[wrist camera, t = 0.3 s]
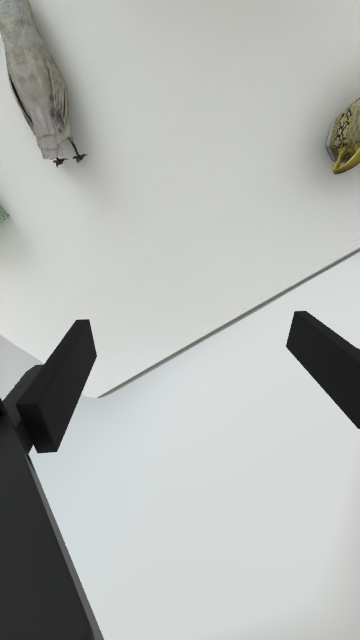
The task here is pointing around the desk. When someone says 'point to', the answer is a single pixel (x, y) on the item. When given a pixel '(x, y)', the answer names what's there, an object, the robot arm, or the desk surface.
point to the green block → (3, 215)
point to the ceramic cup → (345, 139)
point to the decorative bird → (35, 80)
